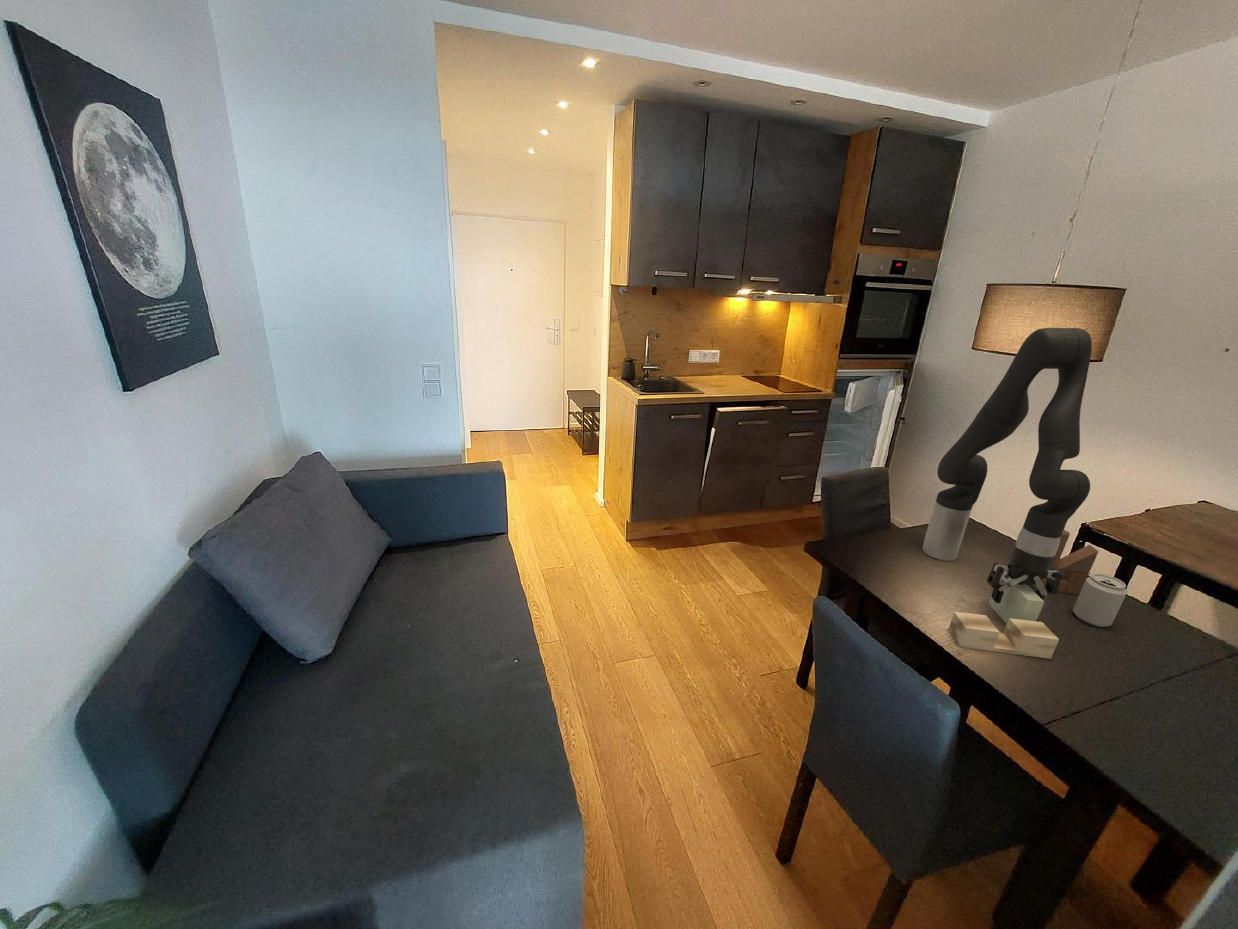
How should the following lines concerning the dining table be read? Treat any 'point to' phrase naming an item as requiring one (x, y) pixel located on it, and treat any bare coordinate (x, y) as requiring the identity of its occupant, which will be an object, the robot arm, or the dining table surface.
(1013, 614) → the sage green tall block
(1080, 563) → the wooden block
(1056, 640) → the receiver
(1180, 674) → the dining table surface
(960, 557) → the dining table surface
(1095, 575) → the can
